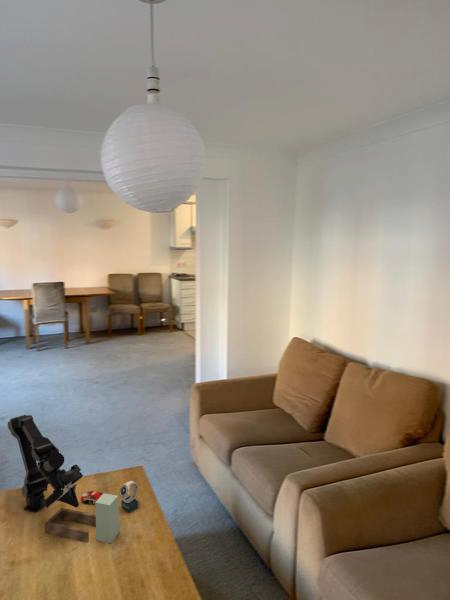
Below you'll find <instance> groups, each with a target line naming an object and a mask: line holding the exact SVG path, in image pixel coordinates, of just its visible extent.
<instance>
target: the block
mask: <svg viewBox="0 0 450 600" xmlns="http://www.w3.org/2000/svg"><path fill="white" fill-rule="evenodd" d="M94 509H95V511H94V512H95V513H94V514H95V515H96V526H95V534H96V535H95V537H96V541H98V542H103V543H108V544H112V543H113V541H115V539H116V538H117V537H118V535H119V534H120V517H119V516H120V514H119V495H116V494H110V493H105V492H103V495H102V496H101V497H100V498H99V499H98V500H97V501H96V502H95V505H94Z"/></svg>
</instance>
